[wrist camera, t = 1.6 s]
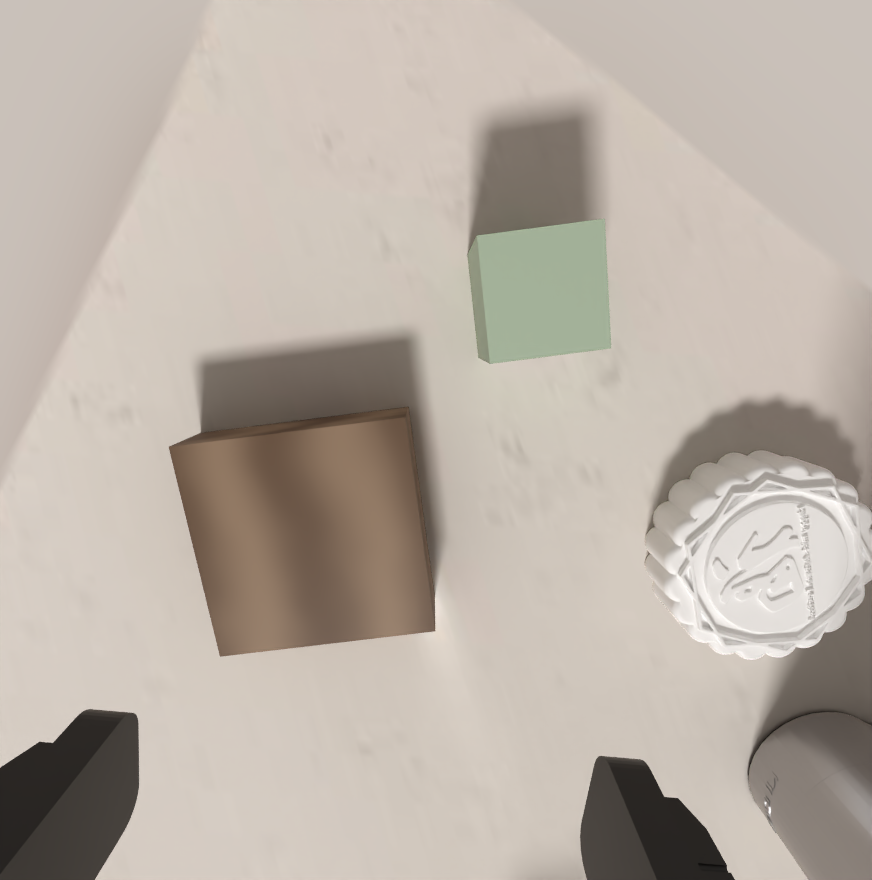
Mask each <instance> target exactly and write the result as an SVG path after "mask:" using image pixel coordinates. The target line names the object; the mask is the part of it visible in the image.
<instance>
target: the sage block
mask: <svg viewBox="0 0 872 880" xmlns="http://www.w3.org/2000/svg"><path fill="white" fill-rule="evenodd" d="M467 255H468V264H469V274H470V283H471V292H472V302H473V311H474V321H475V330H476V339H477V349H478V358H480V359H482V360H484V361H486V362H487V363H489V364H493V363H501V362H509V361H516V360H524V359H532V358H540V357H548V356H555V355H563V354H571V353H579V352H587V351H594V350H602V349H610V348H611V334H610V314H609V294H608V274H607V255H606V235H605V219H598V220H590V221H583V222H575V223H568V224H560V225H553V226H545V227H537V228H530V229H522V230H515V231H507V232H500V233H492V234H484V235H477V236H476V238H475V240H474V242H473V244H472V246H471V248H470V250H469V252H468V254H467Z"/></svg>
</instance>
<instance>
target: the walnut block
mask: <svg viewBox="0 0 872 880" xmlns="http://www.w3.org/2000/svg"><path fill="white" fill-rule="evenodd" d="M169 450H170V454H171V458H172V462H173V466H174V470H175V474H176V478H177V483H178V487H179V491H180V495H181V499H182V503H183V507H184V511H185V515H186V519H187V523H188V527H189V531H190V536H191V540H192V544H193V548H194V552H195V556H196V560H197V564H198V568H199V572H200V576H201V580H202V585H203V589H204V593H205V597H206V601H207V605H208V609H209V613H210V617H211V621H212V625H213V629H214V634H215V638H216V642H217V646H218V650H219V654H220V656H229V655H237V654H246V653H254V652H263V651H271V650H280V649H288V648H296V647H305V646H313V645H322V644H330V643H339V642H347V641H356V640H364V639H373V638H381V637H390V636H398V635H407V634H415V633H424V632H432V631H435V595H434V588H433V581H432V574H431V566H430V559H429V552H428V545H427V538H426V530H425V523H424V516H423V509H422V501H421V494H420V487H419V480H418V472H417V465H416V458H415V451H414V443H413V436H412V429H411V422H410V414H409V407H403V408H395V409H387V410H379V411H371V412H363V413H355V414H347V415H339V416H331V417H323V418H315V419H307V420H300V421H292V422H284V423H276V424H268V425H260V426H252V427H244V428H236V429H228V430H220V431H212V432H204V433H200V434H197V435H195V436H193V437H190V438H188V439H186V440H184V441H181V442H179V443H177V444H174V445H172V446H170V447H169Z"/></svg>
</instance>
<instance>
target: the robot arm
mask: <svg viewBox="0 0 872 880" xmlns="http://www.w3.org/2000/svg"><path fill="white" fill-rule="evenodd" d="M748 779H749V787H750V791H751V794H752V796H753V799H754V801H755V802H756V804H757V805H758V807H759V808H760V809H761V811H762V812H763V814H764V815H765V817H766V818H767V820H768V822H769V824H770V825H771V827H772V828H773V830H774V831H775V833H777V834H778V836H779V837H780V839H781V840H782V842H783V843H784V844H785V846H786V847H787V849H788V850H789V852H790V853H791V855H792V856H793V857H794V859H795V861H796V862H797V864H798V865H799V866H800V868H801V869H802V871H803V872H804V874H805V875H806V877H807V878H808V880H872V725H870V724H868V723H866V722H864V721H862V720H860V719H858V718H856V717H854V716H851V715H847V714H844V713H836V712H821V713H812V714H809V715H805V716H802V717H798V718H796V719H794V720H792V721H790V722H788V723H786V724H784V725H782V726H781V727H780V728H778V729H777V730H775V731H774V732H772V733H771V734H770V735H769V736H768V737H767V739H766V740H765V741H764V742H763V743H762V744H761V745H760V747H759V749H758V750H757V752H756V753H755V755H754V757H753V760H752V763H751V765H750V770H749V778H748ZM138 789H139V740H138V718H137V716H136V714H134V713H127V712H115V711H104V710H93V709H88V710H85V711H83V712H82V713H81V714H79V715H78V716H77V717H76V718H75V719H74V721H73V722H72V723H71V724H70V725H69V726H68V727H67V728H66V729H65V730H64V732H63V733H62V734H61V735H60V736H59V737H58V738H57V739H56V740H55V741H54V743H46V742H39V743H37V744H36V745H34V746H33V747H31V748H30V749H28V750H26V751H25V752H23V753H22V754H20V755H19V756H17V757H16V758H14V759H13V760H11V761H10V762H8V763H7V764H5V765H4V766H2V767H1V768H0V880H95V878H96V877H97V875H98V873H99V872H100V870H101V868H102V867H103V865H104V863H105V862H106V860H107V859H108V857H109V855H110V854H111V852H112V850H113V849H114V847H115V845H116V844H117V842H118V840H119V839H120V837H121V835H122V834H123V832H124V830H125V828H126V826H127V824H128V822H129V820H130V818H131V815H132V812H133V810H134V807H135V803H136V800H137V795H138ZM580 840H581V853H582V860H583V865H584V870H585V874H586V877H587V880H735V879H734V878H733V876H732V874H731V873H728V871H727V865H726V863H725V861H724V860H723V858H722V856H721V854H720V852H719V851H718V849H717V847H716V845H715V843H714V842H713V840H712V838H711V836H710V835H709V833H708V831H707V829H706V828H705V827H704V826H703V825H702V824H701V823H700V822H699V821H698V819H697V818H696V817H695V816H694V815H693V814H692V813H691V812H690V811H689V810H688V809H687V808H686V806H685V805H684V804H683V803H682V802H681V801H680V800H679V799H678V798H668V797H664V796H663V794H662V792H661V790H660V788H659V786H658V784H657V782H656V780H655V778H654V776H653V774H652V772H651V770H650V768H649V767H648V765H647V764H646V763H645V762H644V761H643V760H640V759H629V758H617V757H606V756H599V757H598V758H597V759H596V762H595V765H594V769H593V773H592V778H591V782H590V787H589V791H588V796H587V800H586V805H585V809H584V814H583V818H582V823H581V834H580Z"/></svg>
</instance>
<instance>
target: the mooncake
mask: <svg viewBox="0 0 872 880" xmlns="http://www.w3.org/2000/svg"><path fill="white" fill-rule="evenodd" d="M653 523H654V525H655V527H653V528H652V529H650V531H649V532H648V533H647V535H646V537H645V546H646V549H647V550H648V552H649V553H650V554H649V555H648V557H647V558H646V561H645V570H646V572H647V574H648V575H649V576H650V577H651V579H652V580H653V585H652V587H653V592H654V594H655V595H656V597H657V598H658V599H659V600H660V601H661V603H662V604H663V605H664V606H665V607H666V608H667V610H668V611H669V612H670V613H671V614H672V615H673V617H674V618H675V619H676V620H677V621H678V623H679V624H680V625H681V626H682V627H683V628H684V630H685V631H686V632H687V633H688V634H689V635H690V636H691V637H692V638H693V639H694V640H696V641H698V642H704V643H707V644H708V645H709V646H710V647H711V648H712V649H713V650H714V651H715V652H717V653H719V654H724V655H729V654H733V653H736V654H737V655H739V656H740V657H742V658H744V659H748V660H754V659H758V658H760V657H762V656H764V655H765V654H767V655H769V656H771V657H778V658H779V657H784V656H787V655H789V654H790V653H791V652H792V651H793V650H794V649H795V647H799V648H809V647H812V646H814V645H815V644H817V643H818V642H819V641H820V640H821V638H822V636H823V633H824V632H832V631H835V630H837V629H839V628H840V627H841V626H842V625H843V624H844V622H845V620H846V617H847V611H850V610H853V609H855V608H856V607H858V606H859V605H860V604H861V603H862V601H863V599H864V596H865V588H864V585H865V584H867V583H868V582H870V581H871V580H872V529H870V527H871V524H872V512H871V510H870V509H869V508H868V506H866V505H865V504H863V503H861V502H858V493H857V491H856V489H855V488H854V487H853V486H852V485H851V484H849V483H847V482H845V481H842V480H839V479H837V478H835V476H834V475H833V473H832V472H831V471H829V470H828V469H826V468H823V467H820V466H818V465H815V464H812V463H809V462H806V461H803V460H800V459H797V458H794V457H791V456H780V455H777V454H774V453H772V452H769V451H765V450H758V451H754V452H752V453H750V454H749V455H747V456H746V455H744V454H741V453H737V452H733V453H728V454H726V455H724V456H723V457H721V458H720V459H719V461H718V462H717V464H716V463H709V462H708V463H703V464H701V465H699V466H697V467H696V468H695V469H694V470H693V472H692V473H691V476H690V479H684V480H681V481H678V482H677V483H675V484H674V485H673V486H672V487H671V489H670V491H669V495H668V501H666V502H663V503H662V504H660V505H659V506H658V507H657V508H656V510H655V511H654V514H653Z"/></svg>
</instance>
